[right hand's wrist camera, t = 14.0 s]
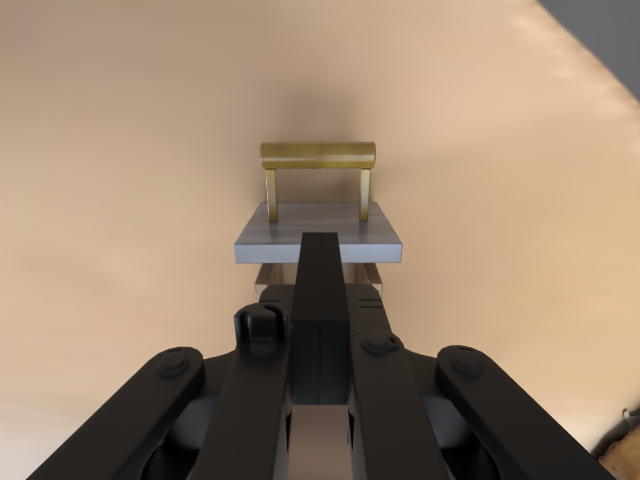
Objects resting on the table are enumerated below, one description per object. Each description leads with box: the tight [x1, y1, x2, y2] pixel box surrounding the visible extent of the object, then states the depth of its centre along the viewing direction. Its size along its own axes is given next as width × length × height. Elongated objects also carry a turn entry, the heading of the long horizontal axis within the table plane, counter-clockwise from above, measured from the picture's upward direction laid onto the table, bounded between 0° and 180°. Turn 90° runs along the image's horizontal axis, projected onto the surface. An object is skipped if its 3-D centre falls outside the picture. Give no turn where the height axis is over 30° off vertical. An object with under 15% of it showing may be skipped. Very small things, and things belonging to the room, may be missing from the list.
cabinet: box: [288, 400, 352, 480], centre depth 31 cm, size 19×11×12 cm, turn 0°
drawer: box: [234, 142, 403, 303], centre depth 26 cm, size 22×10×10 cm, turn 0°
